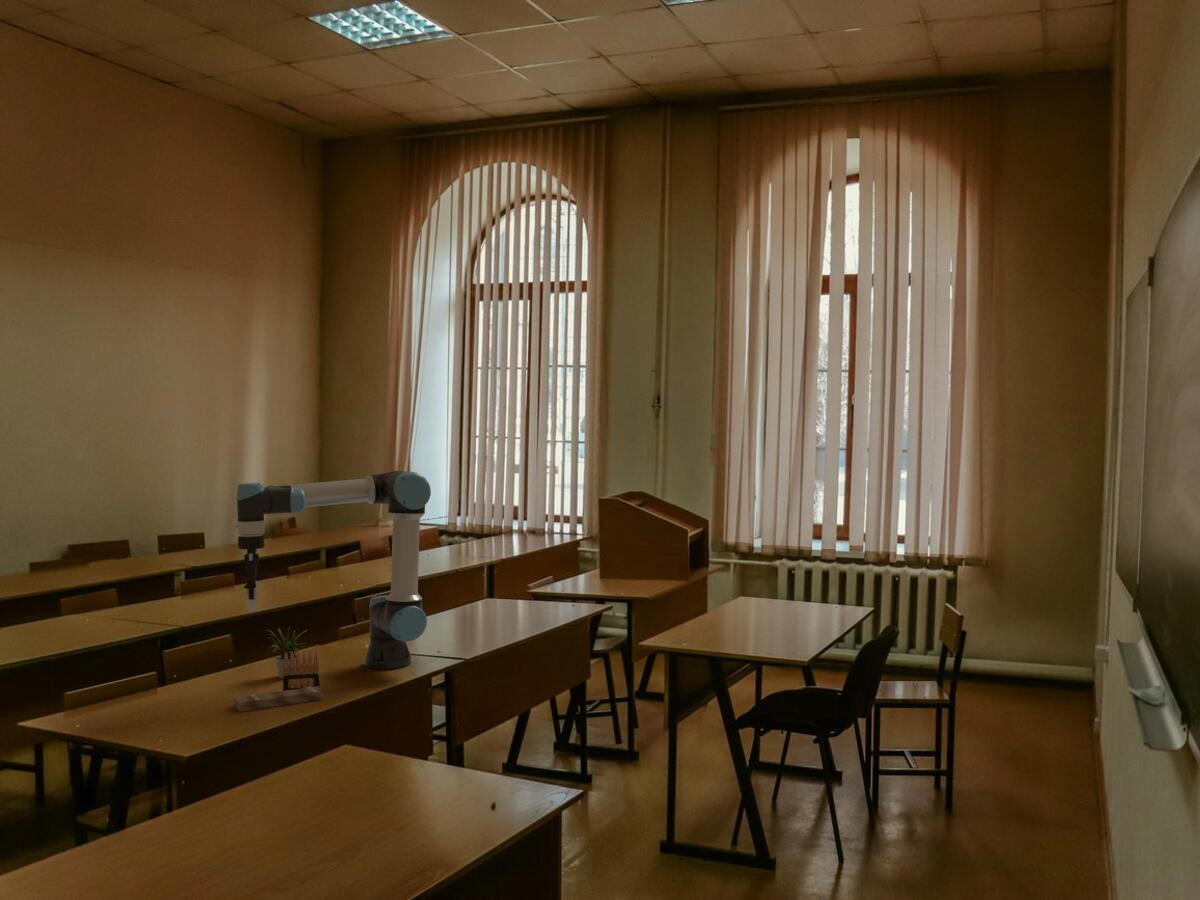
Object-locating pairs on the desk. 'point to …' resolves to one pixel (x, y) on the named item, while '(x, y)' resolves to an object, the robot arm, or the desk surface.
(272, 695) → the plank
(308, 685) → the ammunition clip
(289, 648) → the house plant
